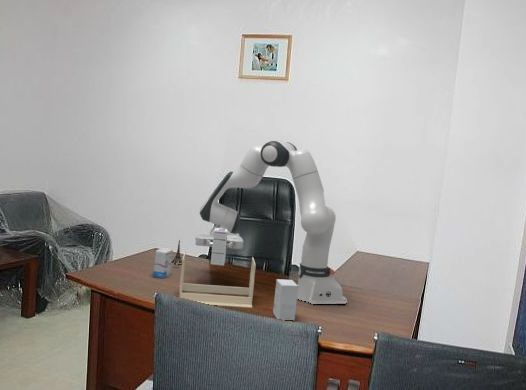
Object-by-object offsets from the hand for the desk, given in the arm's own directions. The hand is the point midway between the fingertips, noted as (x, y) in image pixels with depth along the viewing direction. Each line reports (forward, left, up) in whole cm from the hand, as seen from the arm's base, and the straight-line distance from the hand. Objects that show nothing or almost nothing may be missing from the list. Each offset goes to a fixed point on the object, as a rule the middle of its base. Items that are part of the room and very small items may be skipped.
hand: (219, 245), depth 194 cm
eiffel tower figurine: (+19, -40, -20) cm, 49 cm away
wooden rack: (0, +9, -19) cm, 21 cm away
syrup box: (0, -1, -8) cm, 8 cm away
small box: (-25, +26, -19) cm, 41 cm away
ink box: (+24, -17, -19) cm, 35 cm away
